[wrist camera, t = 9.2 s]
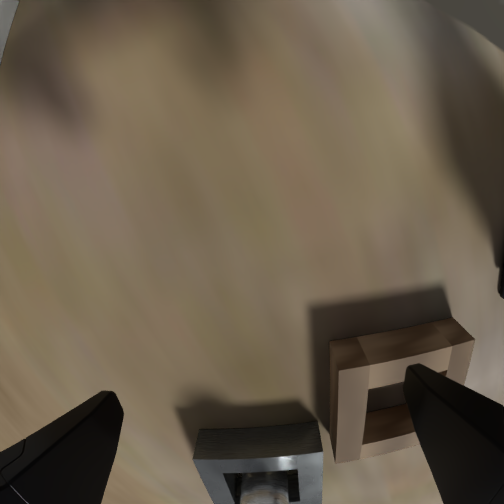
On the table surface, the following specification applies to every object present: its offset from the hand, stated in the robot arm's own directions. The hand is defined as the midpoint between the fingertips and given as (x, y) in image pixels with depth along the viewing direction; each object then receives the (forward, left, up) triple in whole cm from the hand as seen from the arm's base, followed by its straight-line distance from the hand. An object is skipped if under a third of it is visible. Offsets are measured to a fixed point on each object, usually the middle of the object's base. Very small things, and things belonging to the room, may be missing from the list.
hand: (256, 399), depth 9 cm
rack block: (+2, +19, -12) cm, 23 cm away
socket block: (-9, +11, -12) cm, 19 cm away
